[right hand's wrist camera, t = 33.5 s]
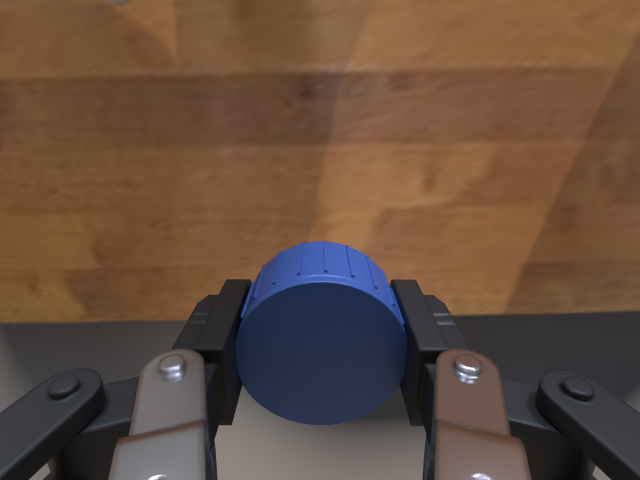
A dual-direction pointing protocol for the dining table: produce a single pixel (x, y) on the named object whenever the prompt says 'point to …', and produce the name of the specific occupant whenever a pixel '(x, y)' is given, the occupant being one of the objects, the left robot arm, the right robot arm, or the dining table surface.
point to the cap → (321, 335)
